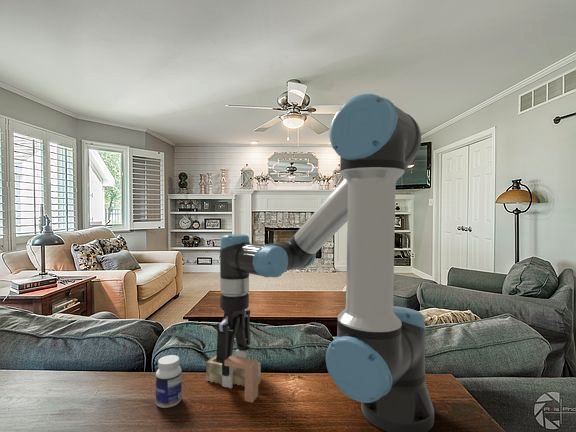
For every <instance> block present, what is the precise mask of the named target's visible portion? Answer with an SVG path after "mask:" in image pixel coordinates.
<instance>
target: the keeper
mask: <svg viewBox="0 0 576 432" xmlns="http://www.w3.org/2000/svg"><path fill="white" fill-rule="evenodd" d="M258 362H259V360H258V359H255V358H254V359H252V358H247V357H246V358H242V357H236V355H232V356H230V357H228V358H227V359H226V360H225V361H224V366H229V367H235V368H240V369H245V386H244V402H248V403H252V404H253V402H255V400H256V399H257V398H258V397H259V384H258Z"/></svg>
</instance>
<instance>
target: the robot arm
mask: <svg viewBox="0 0 576 432" xmlns="http://www.w3.org/2000/svg"><path fill="white" fill-rule="evenodd" d="M329 142H330V145H331V147H332V149H333V150H334V151H335V153H336V154H337V156H338V157H340V159H339V161H340V162H339V163H340V164H339V174H340V175H341V176H342V178H343V180H342V181H341V182H340V183H339V184H338V185H337V187H336V188H335V189H334V190H333V191H332V192H331V193H330V194H329V196H328V197H327V198H326V199H325V200H324V201H323V202H322V204H321V205H320V206H319V207H318V208H317V209H316V210H315V211H314V212H313V214H311V216H310V217H309V218H308V219H307V220H306V221H305V223H303V225H302V226H300V228H299V229H298V230H297V231H296V233H294V235H293V236H292V237H291V238H290V239H289V240H288V241H284V242H274V243H265V244H262V243H260V244H259V243H251V242H250V237H249V235H247V234H241V233H240V234H238V233H237V234H235V233H233V234H230V233H229V234H224V235H222V236H221V238H220V247H219V248H220V249H219V263H220V264H219V265H220V266H219V275H220V277H219V279H220V280H219V283H220V287H219V288H220V293H221V294H220V295H219V308H220V309H221V310H222V311H223V317H222V321H221V322H217V323H216V324H215V325H216V332H217V337H216V339H217V340H216V355H217V356H216V355H215V356H216V362H217V363H222V384H221V386H222V387H224V388H227V387H228V389H232V388H233V387H234V384H233V367H229V366H224V361H225V360H226V359H227V358H228V357H230V356H233V349H234V342H236V347H237V349H235V356H238V357H242V358H247V357H246V356H247V353H246V352H247V351H249V350H250V349H251V348H250V344H251V323H250V320H251V319H250V315H251V310H250V309H248V308H249V306H250V294H249V292H250V275H255V276H260V277H264V278H274V279H275V278H279V277H281V276H282V275H283V274H284V273H285V272H287V271H288V272H289V271H292V270H301V269H302V270H303V269H305V268H307V267H309V266H311V265H313V263H314V262H315V260H316V256H317V252H318V251H319V250H320V249H321V248H322V247H324V245H325V244H326V243H327V242H328V241H330V240H331V238H332V237H334V235H336V233H337V232H338V231H339V230H340V229H341V228H342V227H343V226H345V224H346V223H347V227H346V228H347V233H346V236H347V237H346V275H345V277H346V284H345V287H346V288H345V308H344V309H343V310H342V311H341V312H340V313H338V315H337V325H336V326H337V328H336V329H337V331H336V332H337V333H336V334H337V335H336V337H335V338H334V339H333V340H332V341H331V342H330V344H329V345H328V347H327V349H326V353H325V363H326V364H325V365H326V368H327V372H328V375H329V376H330V379H331V381H333V382H334V383H335V384H336V387H337V389H339V391H341V393H343V394H344V396H347V397H348V398H349V399H352V400H353V401H357V402H359V403H360V404H361V406H360V408H361V413H362V415H363V417H364V418H365V419H366V420H367V421H368V422H369V423H370V424H371V425H373V427H376V428H378V429H380V430H382V431H384V432H430V430H432V428H433V427H434V424H435V410H434V409H435V408H434V405H433V403H432V400H431V396H430V393H429V390H428V387H427V383H426V330H427V327H426V322H425V316H424V314H423V313H422V312H420V311H418V310H415V309H413V308H408V307H405V306H398V305H397V306H396V305H394V289H395V288H394V287H395V285H394V284H395V283H394V282H395V238H396V237H395V233H396V232H395V226H396V222H395V221H396V190H397V189H396V188H397V187H396V183H397V182H398V179H400V178H401V177H402V176H403V175H404V174H405V172H406V169H407V168H408V167H409V166H410V165H411V163H413V161H414V159H415V158H416V157H417V154H418V153H419V151H420V147H421V144H422V132H421V129H420V126H419V124H418V122H417V121H416V120H415V119H414V117H413V116H411V115H410V114H408V113H406V112H405V111H403V110H402V109H401V108H399V107H397V106H396V105H395V104H394V103H393V102H392V101H391V100H390V99H388V98H385V97H382V96H380V95H377V94H374V93H373V94H372V93H363V94H359V95H356V96H353V97H351V98H350V99H349V100H346V102H344V103H343V105H342V106H341V108H340V109H339V110H337V111H336V113H335V114H334V117H333V119H332V120H331V123H330V127H329ZM235 340H236V341H235Z"/></svg>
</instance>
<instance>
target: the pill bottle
mask: <svg viewBox="0 0 576 432" xmlns="http://www.w3.org/2000/svg"><path fill="white" fill-rule="evenodd" d="M157 367H158V369H157V370H156V372H155V404H156V406H157V407H159V408H162V409H168V408H173V407H174V406H177V405H178V404H179V403H180V402H181V401H182V392H183V391H182V384H183V383H182V382H183V381H182V376H183V375H182V373H183V371H182V367H181V365H180V357H179V356H178V355H175V354H173V355H172V354H170V355H168V354H167V355H165V356H162V357H160V358H159V359H158V361H157Z"/></svg>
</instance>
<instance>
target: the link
mask: <svg viewBox="0 0 576 432" xmlns="http://www.w3.org/2000/svg"><path fill="white" fill-rule="evenodd" d="M216 356H217V354H215V356H213V357H212V358H209V359H208V360H207V361H206V367H205V369H206V371H205V373H206V374H205V376H206V378H205V379H206V382H208V381H210V382H209V383H213V382H215V383H214V384H217V383H219V384H218V385H222V363H217V362H216ZM235 356H236V355H235ZM236 357H238V356H236ZM261 364H262V362H260V361H258V383H259V382H260V381H261V376H262V375H261V370H262V369H261ZM261 382H262V381H261ZM261 382H260V383H261ZM260 383H259V384H260ZM235 384H237V385H236V386H240V385H241V387H245V369H240V368H235V367H233V385H235Z"/></svg>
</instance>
